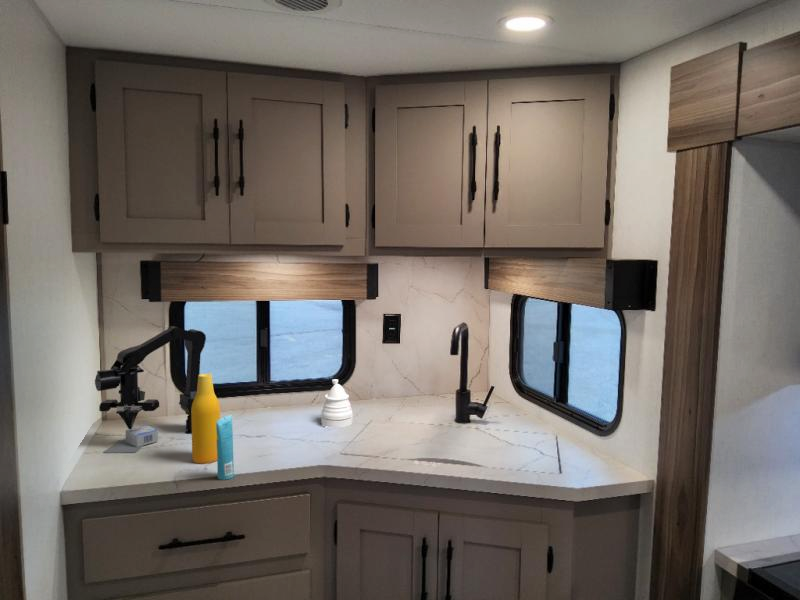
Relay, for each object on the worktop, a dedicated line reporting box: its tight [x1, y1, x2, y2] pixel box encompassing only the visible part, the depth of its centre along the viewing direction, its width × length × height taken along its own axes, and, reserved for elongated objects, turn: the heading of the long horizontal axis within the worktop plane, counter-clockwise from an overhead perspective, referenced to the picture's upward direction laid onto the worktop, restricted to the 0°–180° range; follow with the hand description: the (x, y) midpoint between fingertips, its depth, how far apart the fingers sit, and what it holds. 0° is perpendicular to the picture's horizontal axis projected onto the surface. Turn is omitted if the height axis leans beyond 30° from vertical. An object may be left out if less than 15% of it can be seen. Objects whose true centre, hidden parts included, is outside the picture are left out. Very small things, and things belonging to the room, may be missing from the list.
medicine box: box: [124, 425, 159, 447], centre depth 203 cm, size 8×4×9 cm
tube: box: [216, 413, 235, 481], centre depth 173 cm, size 7×5×19 cm, turn 167°
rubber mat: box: [102, 439, 143, 454], centre depth 199 cm, size 11×12×1 cm
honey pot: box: [320, 378, 354, 427], centre depth 227 cm, size 13×13×18 cm
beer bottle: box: [191, 373, 221, 465], centre depth 187 cm, size 9×9×29 cm
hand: (130, 428), depth 198 cm, fingers closed
